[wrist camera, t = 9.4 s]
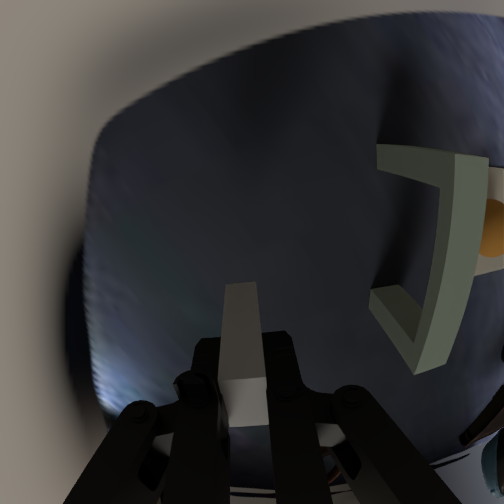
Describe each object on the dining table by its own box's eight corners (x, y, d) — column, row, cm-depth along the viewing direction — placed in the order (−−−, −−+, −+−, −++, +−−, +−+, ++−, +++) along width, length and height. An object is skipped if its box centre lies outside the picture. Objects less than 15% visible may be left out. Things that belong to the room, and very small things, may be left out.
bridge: (407, 145, 19) (488, 158, 11) (395, 302, 25) (445, 363, 16) (376, 143, 19) (454, 153, 11) (368, 307, 25) (414, 374, 16)
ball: (478, 204, 18) (462, 191, 22) (470, 266, 20) (458, 243, 24) (527, 209, 15) (505, 195, 20) (517, 268, 17) (499, 246, 22)
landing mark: (521, 171, 20) (522, 171, 20) (507, 266, 25) (508, 266, 25) (460, 163, 20) (461, 163, 20) (446, 281, 24) (447, 282, 24)
